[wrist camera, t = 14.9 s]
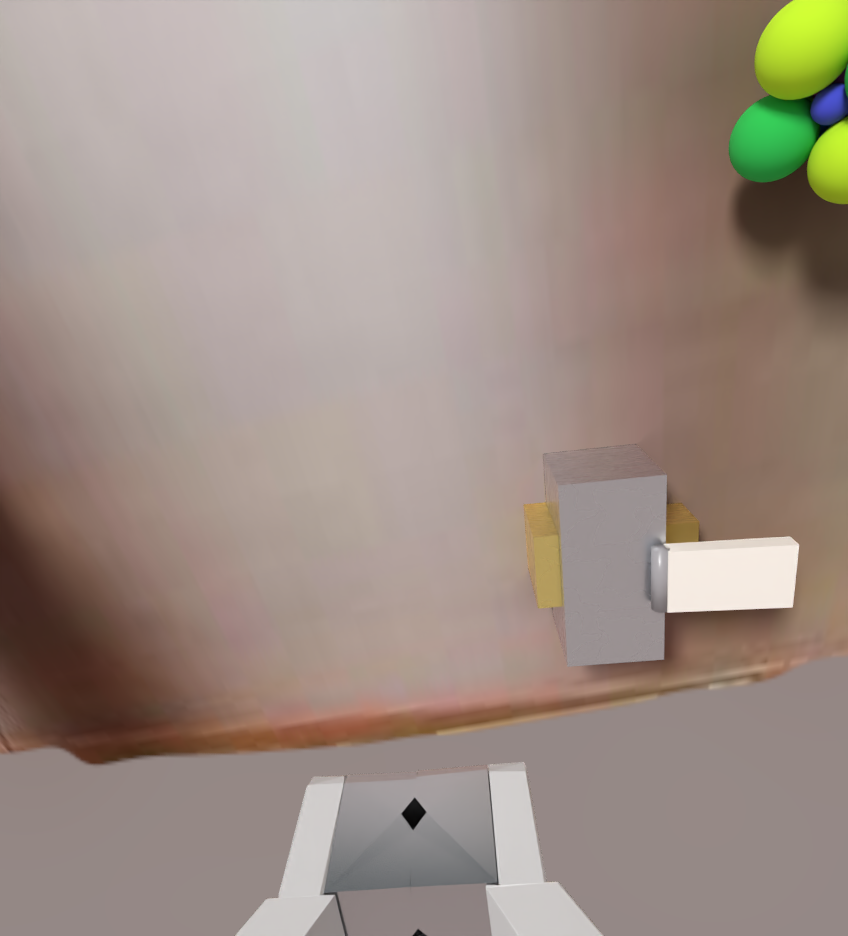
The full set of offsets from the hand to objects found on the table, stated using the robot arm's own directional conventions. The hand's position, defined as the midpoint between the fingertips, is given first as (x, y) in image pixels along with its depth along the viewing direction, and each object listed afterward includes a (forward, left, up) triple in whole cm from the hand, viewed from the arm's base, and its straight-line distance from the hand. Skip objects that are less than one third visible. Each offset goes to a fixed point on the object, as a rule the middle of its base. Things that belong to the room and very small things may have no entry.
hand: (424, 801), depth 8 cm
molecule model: (+20, +12, -30) cm, 38 cm away
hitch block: (+9, -12, -30) cm, 34 cm away
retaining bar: (+11, -12, -24) cm, 29 cm away
